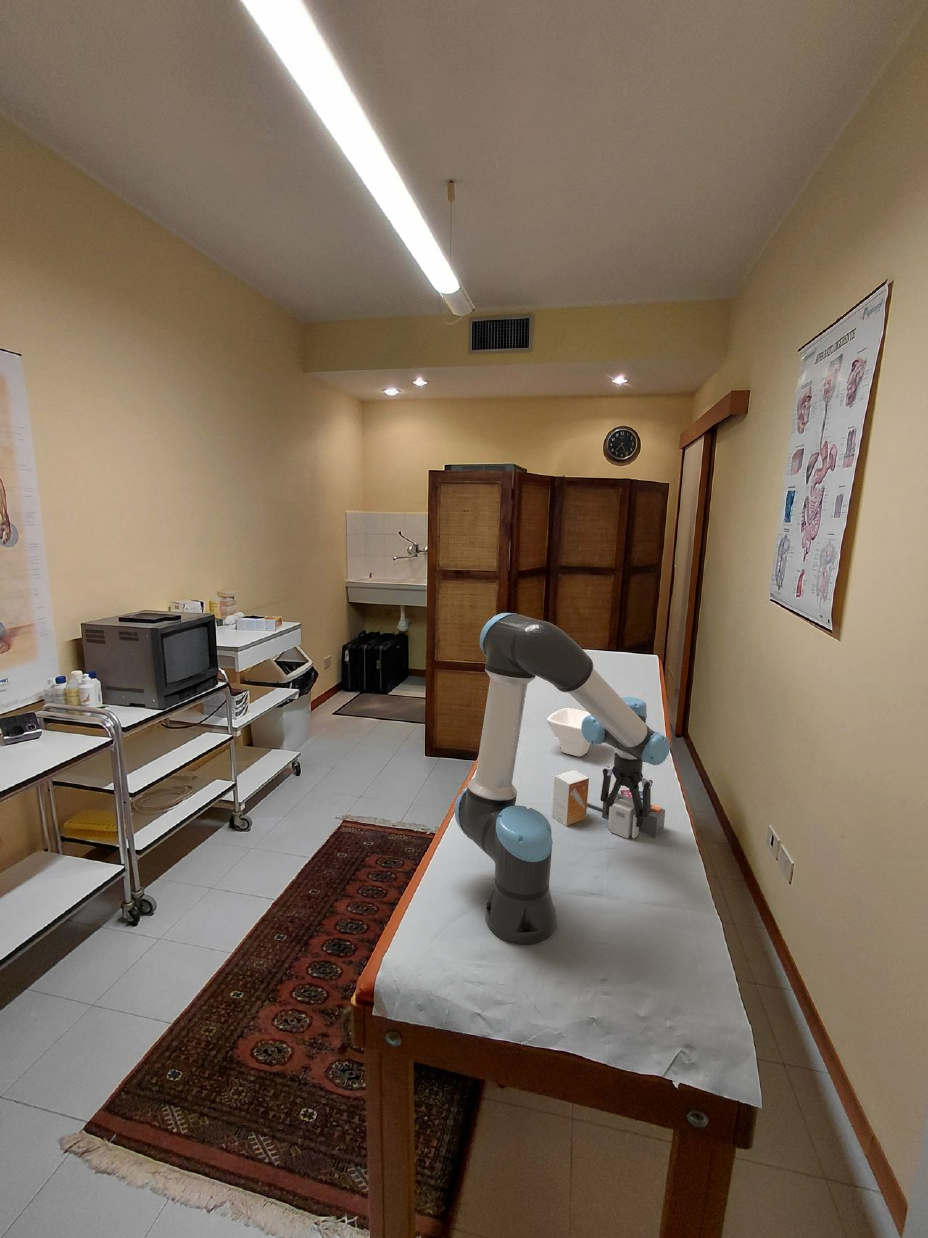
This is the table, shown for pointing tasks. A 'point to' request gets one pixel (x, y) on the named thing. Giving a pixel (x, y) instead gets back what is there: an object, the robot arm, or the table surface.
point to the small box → (570, 797)
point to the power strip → (650, 823)
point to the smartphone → (628, 793)
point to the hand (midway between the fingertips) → (623, 831)
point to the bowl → (569, 730)
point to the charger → (622, 818)
